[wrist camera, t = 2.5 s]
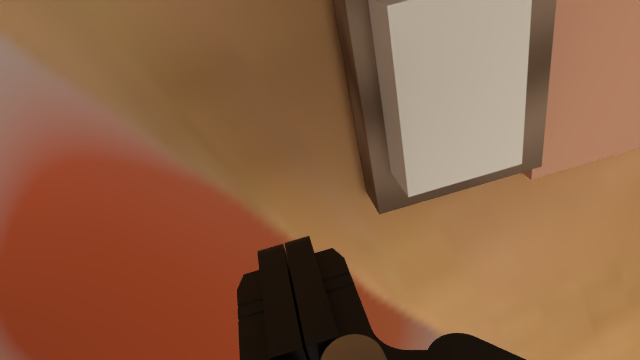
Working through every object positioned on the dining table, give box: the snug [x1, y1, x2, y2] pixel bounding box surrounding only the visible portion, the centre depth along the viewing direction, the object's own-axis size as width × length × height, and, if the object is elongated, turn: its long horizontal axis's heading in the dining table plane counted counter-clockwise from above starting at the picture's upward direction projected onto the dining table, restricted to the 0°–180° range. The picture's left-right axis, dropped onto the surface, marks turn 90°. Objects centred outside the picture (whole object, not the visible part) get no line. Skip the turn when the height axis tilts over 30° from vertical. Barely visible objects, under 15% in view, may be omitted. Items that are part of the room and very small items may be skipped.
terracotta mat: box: [522, 0, 640, 180], centre depth 23 cm, size 18×12×1 cm, turn 12°
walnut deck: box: [333, 0, 557, 214], centre depth 22 cm, size 14×10×2 cm
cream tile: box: [368, 0, 532, 197], centre depth 20 cm, size 9×6×2 cm, turn 12°
